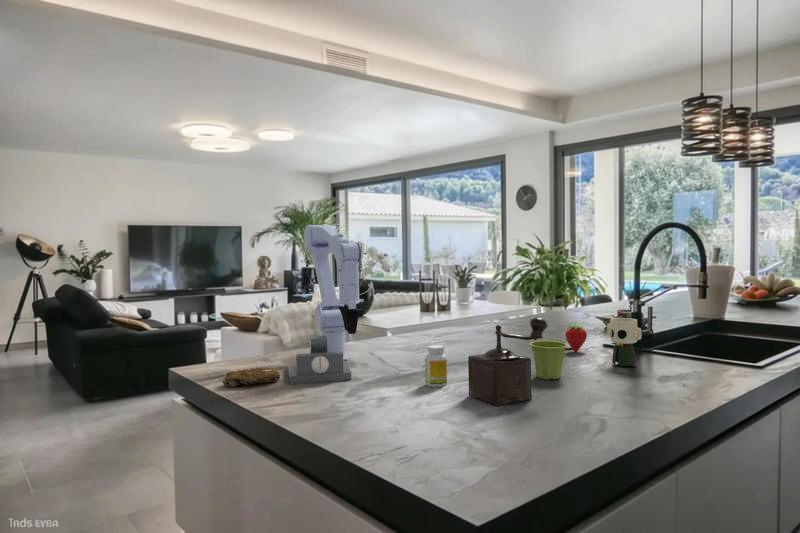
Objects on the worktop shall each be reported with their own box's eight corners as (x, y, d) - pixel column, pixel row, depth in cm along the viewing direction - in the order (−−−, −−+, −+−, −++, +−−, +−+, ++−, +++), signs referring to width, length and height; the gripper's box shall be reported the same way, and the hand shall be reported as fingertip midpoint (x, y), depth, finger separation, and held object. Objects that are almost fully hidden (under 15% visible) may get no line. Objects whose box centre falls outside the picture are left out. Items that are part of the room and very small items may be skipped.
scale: (288, 369, 157) (287, 345, 157) (344, 365, 160) (343, 341, 160) (289, 384, 140) (288, 357, 139) (351, 379, 143) (350, 353, 143)
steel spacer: (310, 357, 154) (309, 336, 153) (326, 356, 155) (325, 335, 154) (311, 360, 149) (310, 338, 149) (327, 359, 150) (327, 337, 150)
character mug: (599, 363, 156) (598, 318, 155) (615, 360, 159) (615, 316, 159) (632, 370, 146) (632, 322, 146) (649, 367, 150) (649, 320, 149)
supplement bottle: (421, 384, 137) (420, 346, 136) (436, 380, 140) (436, 343, 140) (436, 388, 133) (435, 349, 132) (451, 384, 136) (451, 346, 136)
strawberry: (591, 351, 174) (591, 320, 173) (576, 354, 169) (575, 322, 169) (576, 348, 178) (576, 318, 178) (561, 351, 174) (560, 320, 174)
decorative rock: (236, 395, 133) (288, 385, 144) (237, 378, 132) (288, 369, 143) (213, 385, 140) (264, 376, 151) (213, 369, 140) (264, 361, 151)
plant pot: (574, 376, 142) (573, 343, 142) (556, 383, 135) (556, 348, 135) (541, 371, 148) (541, 339, 148) (523, 377, 141) (523, 344, 141)
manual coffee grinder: (497, 407, 116) (496, 323, 115) (467, 395, 126) (466, 318, 125) (552, 397, 123) (551, 317, 123) (519, 386, 133) (518, 313, 132)
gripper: (366, 285, 150) (367, 334, 151) (359, 283, 165) (360, 327, 165) (340, 286, 149) (342, 336, 149) (336, 284, 163) (337, 329, 164)
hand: (350, 331), depth 157 cm, fingers open, 7 cm apart
